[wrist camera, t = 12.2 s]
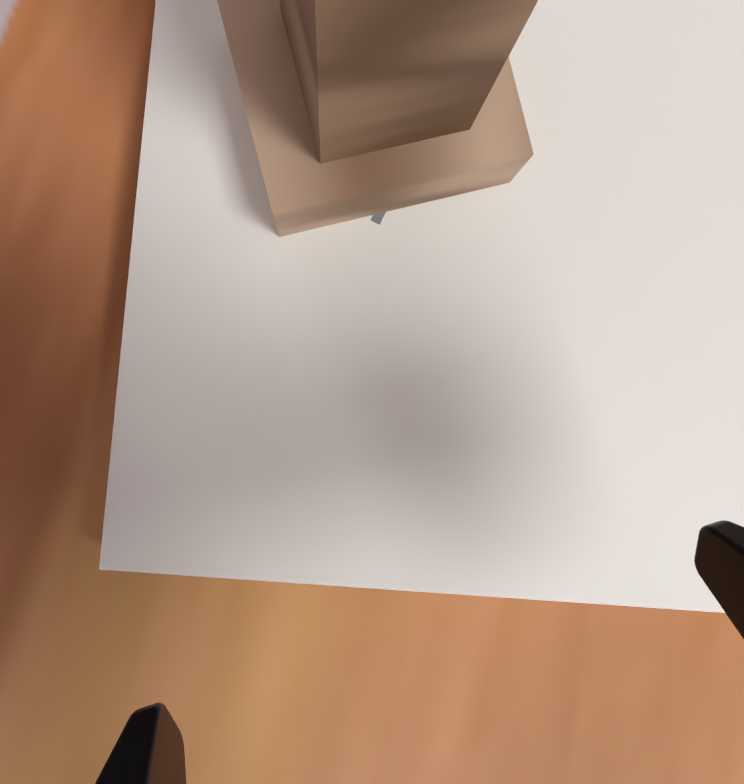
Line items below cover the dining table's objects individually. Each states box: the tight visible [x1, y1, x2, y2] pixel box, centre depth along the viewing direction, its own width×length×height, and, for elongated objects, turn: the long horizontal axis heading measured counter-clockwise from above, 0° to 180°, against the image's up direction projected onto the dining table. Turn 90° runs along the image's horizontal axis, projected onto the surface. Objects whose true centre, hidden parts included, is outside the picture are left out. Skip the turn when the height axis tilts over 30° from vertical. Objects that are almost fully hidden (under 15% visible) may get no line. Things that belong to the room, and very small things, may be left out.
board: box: [99, 0, 744, 613], centre depth 18 cm, size 24×20×2 cm
